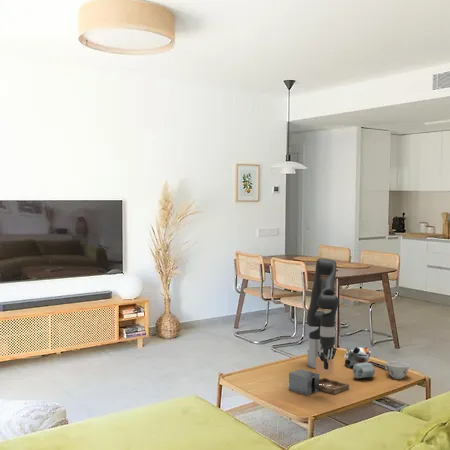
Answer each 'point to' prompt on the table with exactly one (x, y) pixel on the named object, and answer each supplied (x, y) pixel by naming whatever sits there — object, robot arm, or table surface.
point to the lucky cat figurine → (357, 356)
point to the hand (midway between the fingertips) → (327, 368)
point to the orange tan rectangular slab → (321, 366)
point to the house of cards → (347, 352)
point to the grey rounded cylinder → (363, 370)
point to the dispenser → (303, 382)
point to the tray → (332, 386)
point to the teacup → (397, 369)
